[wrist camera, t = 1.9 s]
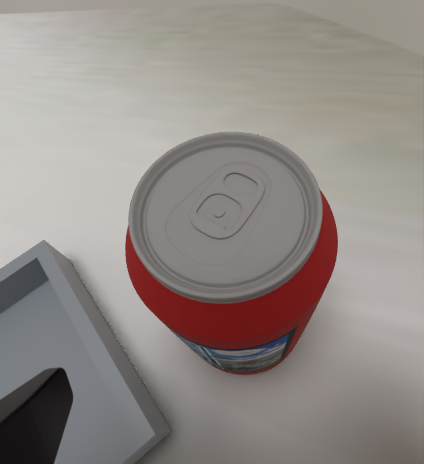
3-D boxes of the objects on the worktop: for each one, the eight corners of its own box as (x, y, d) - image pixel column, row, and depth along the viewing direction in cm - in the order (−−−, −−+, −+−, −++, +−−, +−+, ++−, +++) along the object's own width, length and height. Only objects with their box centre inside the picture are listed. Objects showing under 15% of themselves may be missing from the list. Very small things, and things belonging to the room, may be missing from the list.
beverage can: (163, 330, 20) (54, 240, 9) (227, 243, 22) (196, 89, 12) (262, 404, 17) (264, 394, 7) (323, 297, 20) (395, 166, 9)
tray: (171, 431, 17) (155, 434, 15) (-59, 631, 15) (-131, 681, 12) (69, 260, 23) (43, 239, 20) (-112, 385, 20) (-169, 381, 18)
